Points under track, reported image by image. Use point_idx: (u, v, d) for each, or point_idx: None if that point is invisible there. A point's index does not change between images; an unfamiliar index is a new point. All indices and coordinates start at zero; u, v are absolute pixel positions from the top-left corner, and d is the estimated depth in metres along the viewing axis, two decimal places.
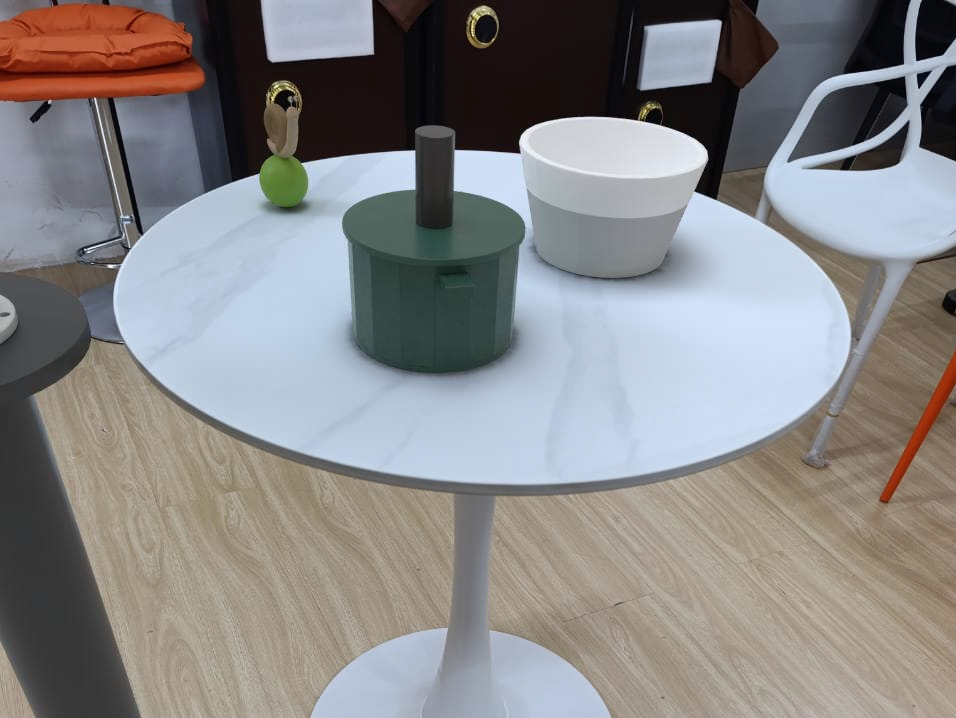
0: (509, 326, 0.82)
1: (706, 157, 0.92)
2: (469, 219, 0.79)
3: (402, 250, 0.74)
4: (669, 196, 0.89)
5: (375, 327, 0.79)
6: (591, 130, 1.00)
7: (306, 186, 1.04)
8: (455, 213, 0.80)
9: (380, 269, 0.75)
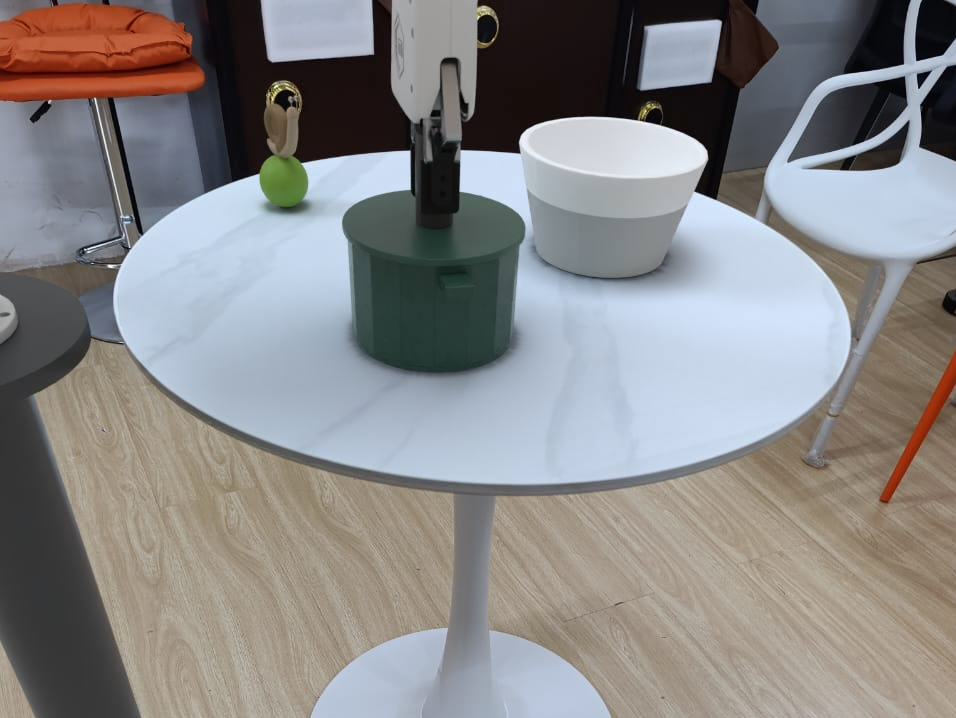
0: (509, 326, 0.82)
1: (706, 157, 0.92)
2: (469, 219, 0.79)
3: (402, 250, 0.74)
4: (669, 196, 0.89)
5: (375, 327, 0.79)
6: (591, 130, 1.00)
7: (306, 186, 1.04)
8: (455, 213, 0.80)
9: (380, 269, 0.75)
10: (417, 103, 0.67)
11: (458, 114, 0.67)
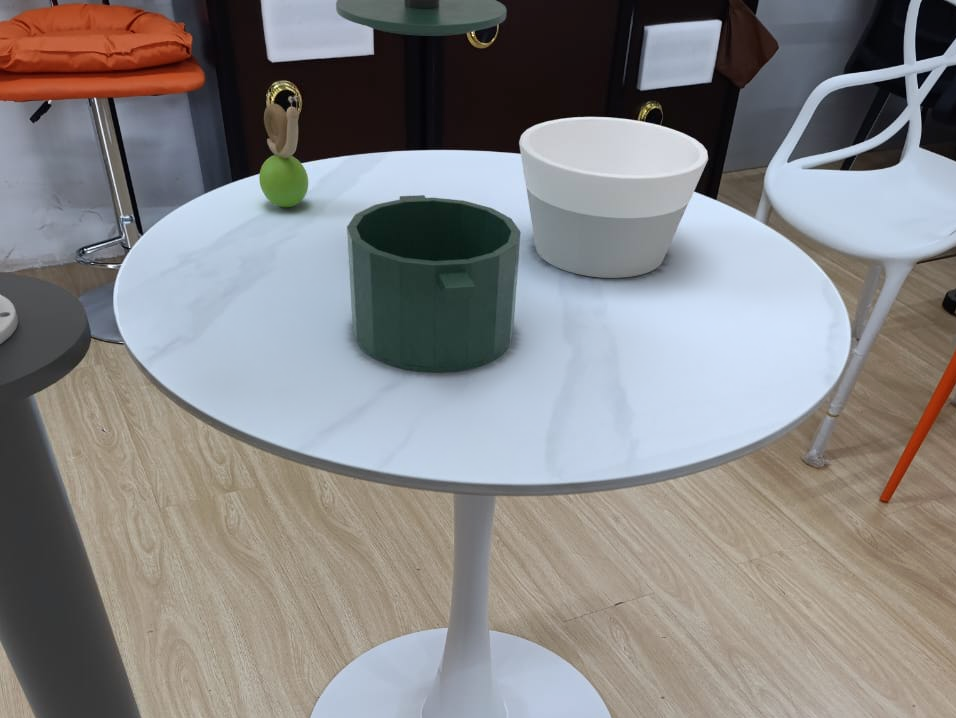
0: (509, 326, 0.82)
1: (706, 157, 0.92)
2: (454, 4, 0.85)
3: (391, 19, 0.80)
4: (669, 196, 0.89)
5: (375, 327, 0.79)
6: (591, 130, 1.00)
7: (306, 186, 1.04)
8: (441, 1, 0.86)
9: (380, 269, 0.75)
10: None
11: None
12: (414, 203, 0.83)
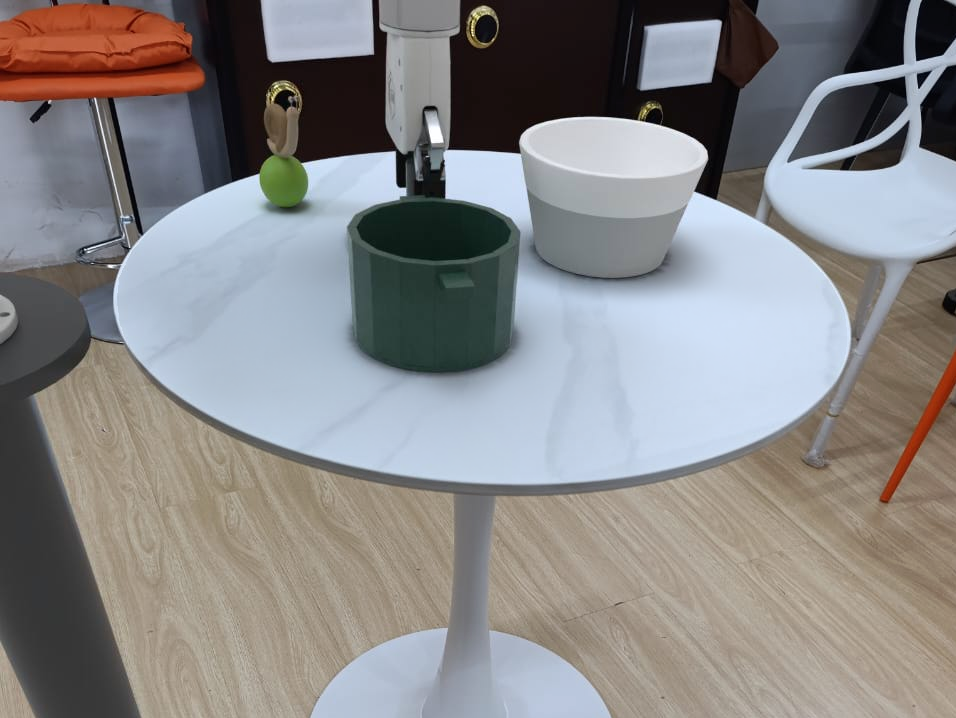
0: (509, 326, 0.82)
1: (706, 157, 0.92)
2: None
3: None
4: (669, 196, 0.89)
5: (375, 327, 0.79)
6: (591, 130, 1.00)
7: (306, 186, 1.04)
8: None
9: (380, 269, 0.75)
10: (405, 139, 0.88)
11: (437, 120, 0.86)
12: (414, 203, 0.83)
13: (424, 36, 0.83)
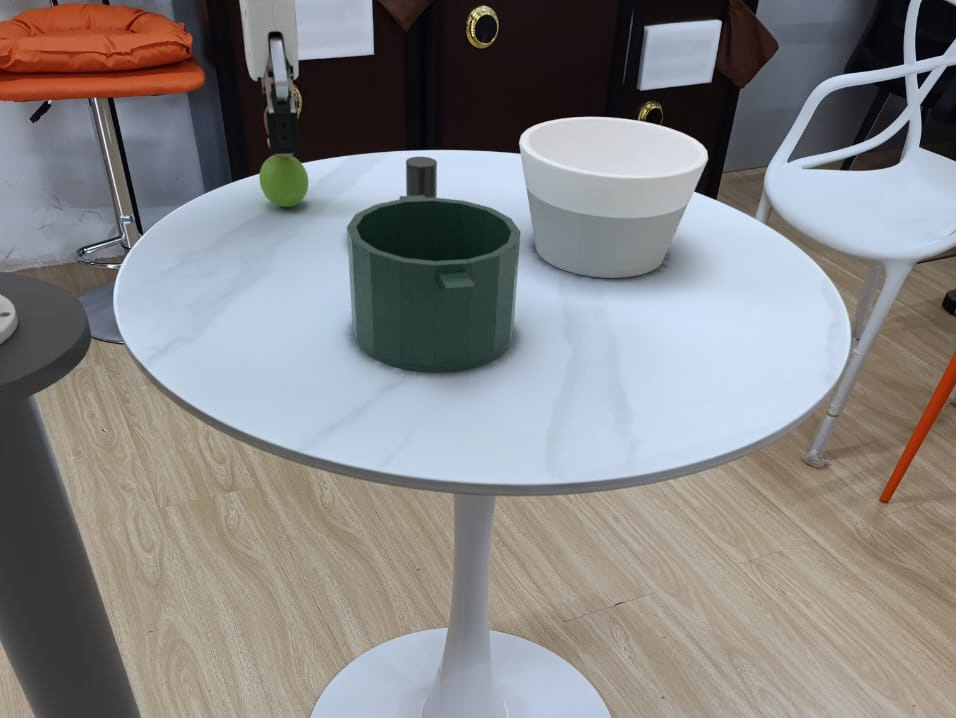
0: (509, 326, 0.82)
1: (706, 157, 0.92)
2: None
3: None
4: (669, 196, 0.89)
5: (375, 327, 0.79)
6: (591, 130, 1.00)
7: (307, 186, 1.04)
8: None
9: (380, 269, 0.75)
10: (253, 65, 0.91)
11: (283, 63, 0.90)
12: (414, 203, 0.83)
13: None
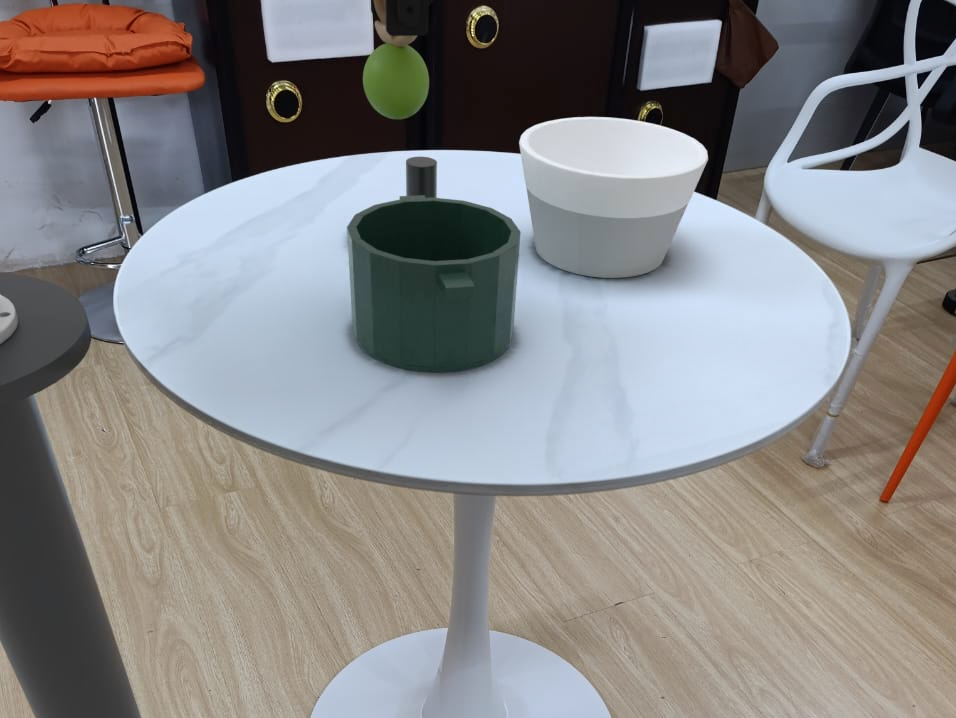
0: (509, 326, 0.82)
1: (706, 157, 0.92)
2: None
3: None
4: (669, 196, 0.89)
5: (375, 327, 0.79)
6: (591, 130, 1.00)
7: (427, 89, 0.75)
8: None
9: (380, 269, 0.75)
10: None
11: None
12: (414, 203, 0.83)
13: None
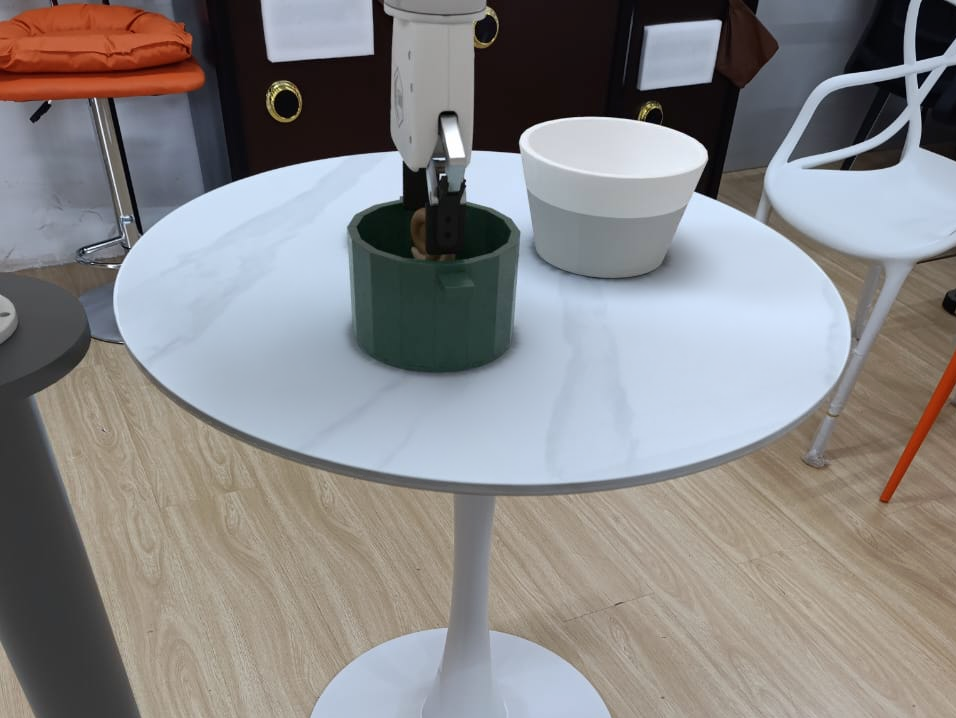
0: (509, 326, 0.82)
1: (706, 157, 0.92)
2: None
3: None
4: (669, 196, 0.89)
5: (375, 327, 0.79)
6: (591, 130, 1.00)
7: None
8: None
9: (380, 269, 0.75)
10: (416, 153, 0.70)
11: (457, 130, 0.68)
12: None
13: (441, 21, 0.65)
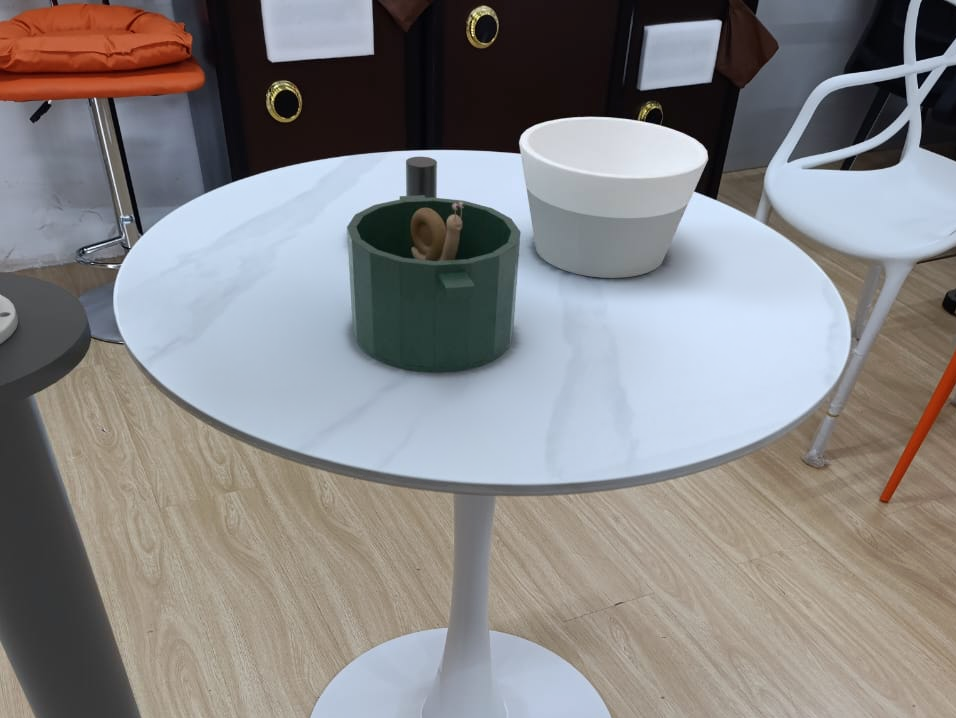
0: (509, 326, 0.82)
1: (706, 157, 0.92)
2: None
3: None
4: (669, 196, 0.89)
5: (375, 327, 0.79)
6: (591, 130, 1.00)
7: None
8: None
9: (380, 269, 0.75)
10: None
11: None
12: (414, 203, 0.83)
13: None
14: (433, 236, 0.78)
